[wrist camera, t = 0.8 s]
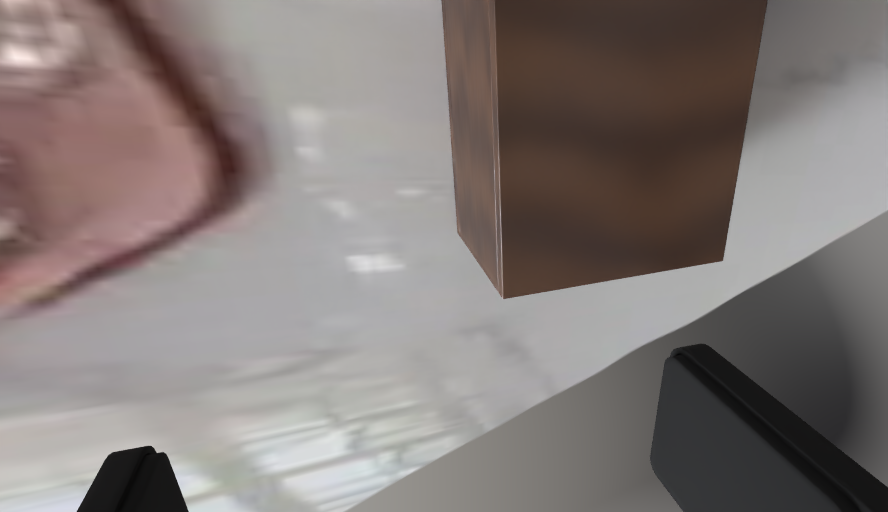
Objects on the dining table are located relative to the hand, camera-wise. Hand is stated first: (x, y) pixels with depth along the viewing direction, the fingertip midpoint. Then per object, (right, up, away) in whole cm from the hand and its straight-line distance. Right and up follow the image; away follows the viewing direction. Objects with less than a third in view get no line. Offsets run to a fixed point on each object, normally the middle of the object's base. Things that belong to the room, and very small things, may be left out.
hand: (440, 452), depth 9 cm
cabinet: (+7, +14, +25) cm, 29 cm away
